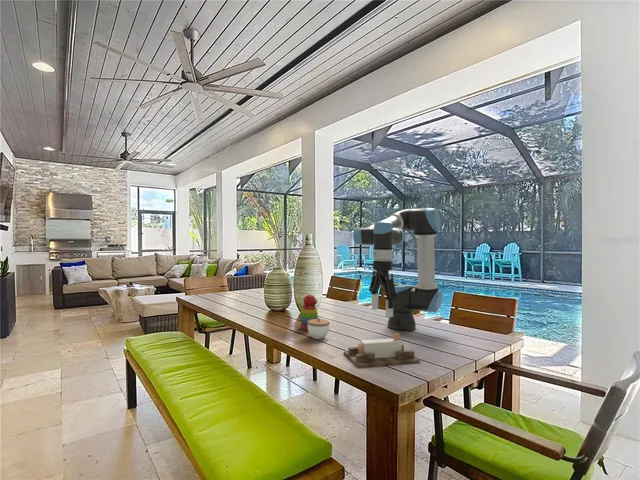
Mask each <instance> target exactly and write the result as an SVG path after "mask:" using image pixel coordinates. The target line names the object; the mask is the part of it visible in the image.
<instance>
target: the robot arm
mask: <svg viewBox="0 0 640 480" xmlns="http://www.w3.org/2000/svg"><path fill="white" fill-rule="evenodd" d="M441 226H442V219H441V216H440V212H439V211H438V210H437V209H436V208H432V207H430V208H429V207H424V208H405V209H402V210H399V211H396V212H394V213H390V214H389V215H388V216H387V218H385V219H382V220H381V221H376V222H374V224H370V225H369V226H367V227H358V228H355V229H354V231H353V232H352V239H353V242H354V243H355V244H356V245H362V246H364V245H365V246H366V245H368V246H369V245H370V246H373V248H372V249H373V251H372V257H373V259H374V260H373V261H372V269H373V270H372V275H371V281H370V285H369V289H368V292H370V294H371V303H370V304H371V306H370V309H371V311H376V310H379V289H380V288H381V286H382V287H383V290H384V294H385V296H386V298H385V317H386V318H388V320H387V328H388V329H391V330H395V331H405V332H406V331H407V332H408V331H413V330H416V329H417V324H416V320H415V318H414V314H413V312H414V311H418V312H427V313H437V312H438V311H439V310H440V308H441V305H442V303H443V291H442V290H440V289H439V286H438V284H436V267H435V266H436V265H435V264H436V263H435V261H436V260H435V237H437V235H438V232H440V231H441V228H442V227H441ZM409 231H410V232H413V235H414V237H415V238H416V253H417V254H416V256H417V257H416V259H417V262H416V263H417V284H415V286H414V285H413V284H399V285H395V281H394V274H393V273H389V272H390V271H392V270H393V261H392V260H393V246H394V247H397V246H400V245H401V244H403V243H404V242H405V239H406V235H405V234H406V233H405V232H409Z"/></svg>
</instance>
